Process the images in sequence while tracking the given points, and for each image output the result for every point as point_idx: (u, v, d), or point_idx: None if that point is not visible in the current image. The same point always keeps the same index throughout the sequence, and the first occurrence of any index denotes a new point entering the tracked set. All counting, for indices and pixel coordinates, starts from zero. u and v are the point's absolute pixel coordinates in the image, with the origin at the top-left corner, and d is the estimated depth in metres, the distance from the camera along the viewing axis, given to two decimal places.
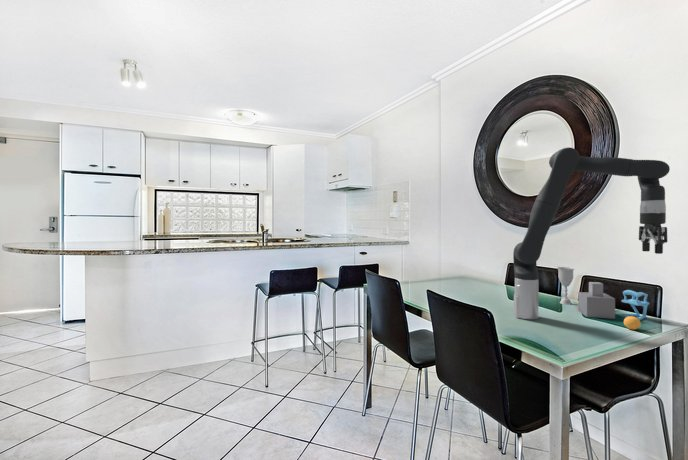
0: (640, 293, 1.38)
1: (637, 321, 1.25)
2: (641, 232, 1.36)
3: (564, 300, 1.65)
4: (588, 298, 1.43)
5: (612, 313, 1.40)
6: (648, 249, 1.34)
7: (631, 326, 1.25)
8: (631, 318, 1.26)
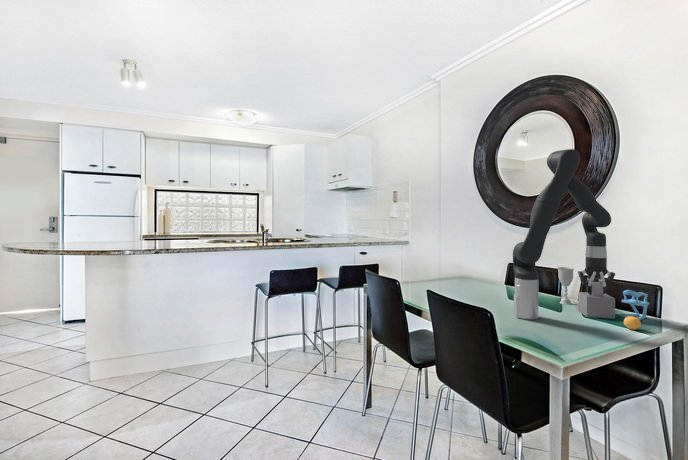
0: (640, 293, 1.38)
1: (637, 321, 1.25)
2: None
3: (564, 300, 1.65)
4: (588, 298, 1.43)
5: (612, 313, 1.40)
6: None
7: (631, 326, 1.25)
8: (631, 318, 1.26)
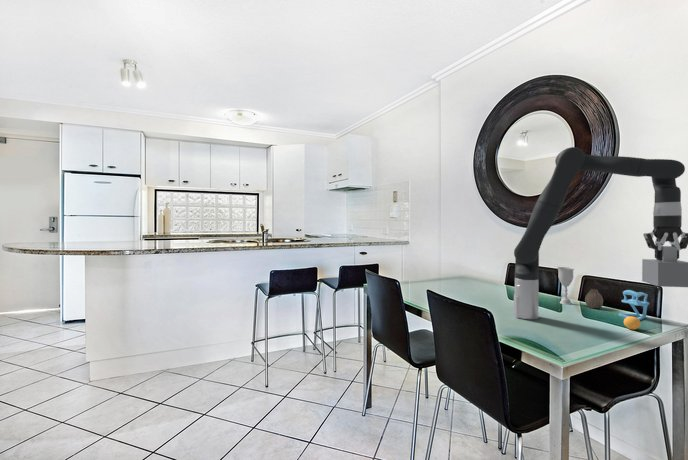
0: (640, 293, 1.38)
1: (637, 321, 1.25)
2: None
3: (564, 300, 1.65)
4: (659, 264, 1.19)
5: None
6: None
7: (631, 326, 1.25)
8: (631, 318, 1.26)
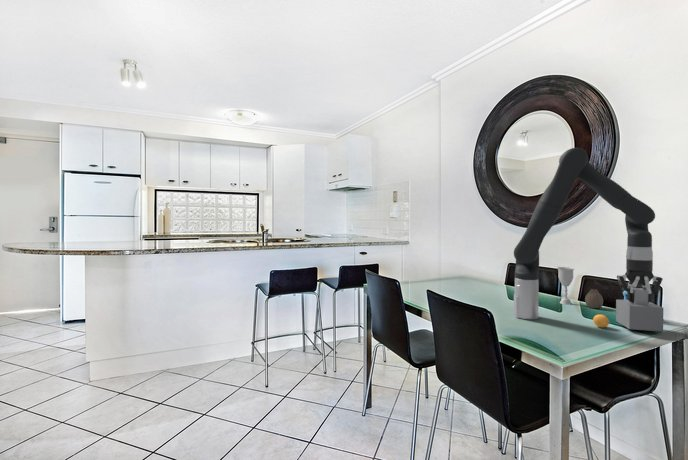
0: None
1: (604, 326, 1.28)
2: None
3: (564, 300, 1.65)
4: (631, 307, 1.22)
5: (659, 325, 1.20)
6: None
7: (603, 319, 1.28)
8: (608, 324, 1.28)
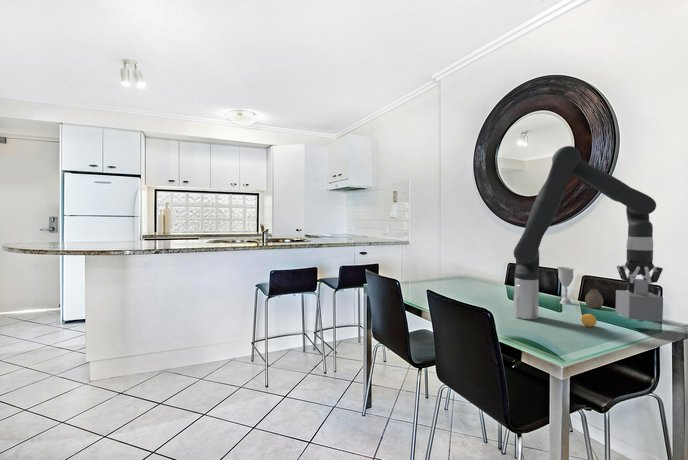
0: None
1: (594, 320, 1.29)
2: None
3: (564, 300, 1.65)
4: (631, 297, 1.22)
5: (659, 315, 1.20)
6: None
7: (586, 321, 1.29)
8: (591, 315, 1.30)
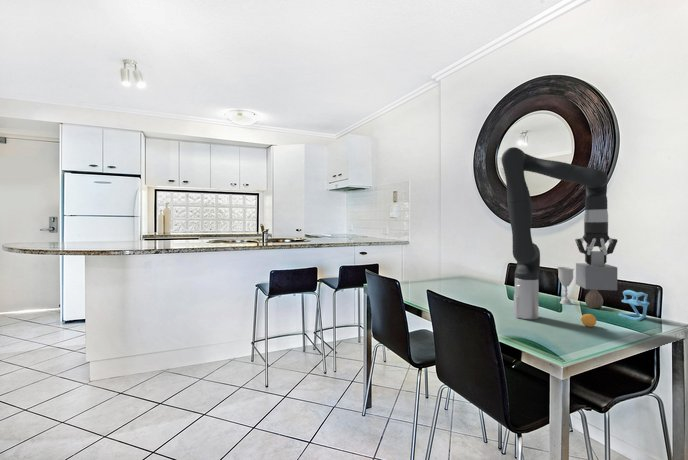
0: (640, 293, 1.38)
1: (594, 320, 1.29)
2: None
3: (564, 300, 1.65)
4: (587, 268, 1.26)
5: (614, 284, 1.24)
6: None
7: (586, 321, 1.29)
8: (591, 315, 1.30)
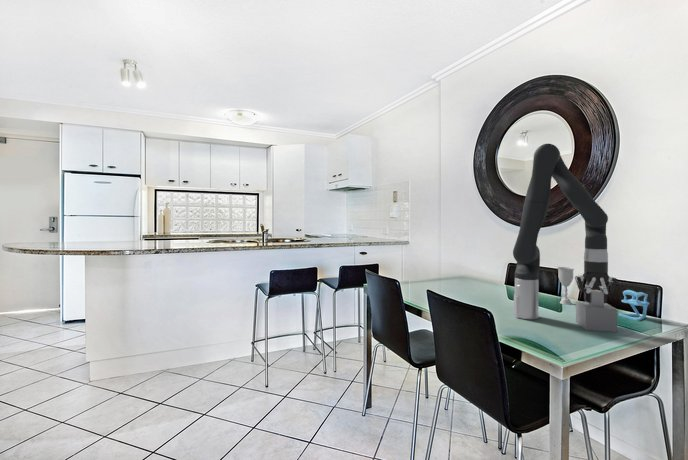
0: (640, 293, 1.38)
1: None
2: None
3: (564, 300, 1.65)
4: (587, 309, 1.27)
5: (614, 326, 1.24)
6: None
7: None
8: None
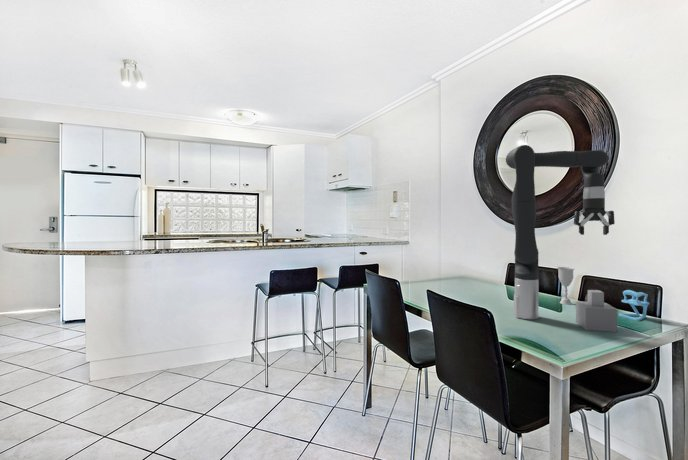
0: (640, 293, 1.38)
1: None
2: None
3: (564, 300, 1.65)
4: (587, 309, 1.27)
5: (614, 326, 1.24)
6: None
7: None
8: None
